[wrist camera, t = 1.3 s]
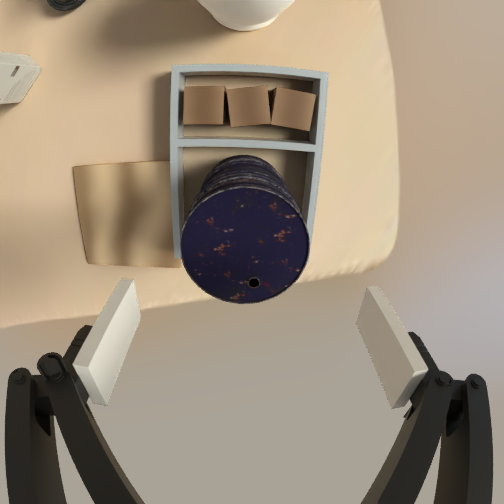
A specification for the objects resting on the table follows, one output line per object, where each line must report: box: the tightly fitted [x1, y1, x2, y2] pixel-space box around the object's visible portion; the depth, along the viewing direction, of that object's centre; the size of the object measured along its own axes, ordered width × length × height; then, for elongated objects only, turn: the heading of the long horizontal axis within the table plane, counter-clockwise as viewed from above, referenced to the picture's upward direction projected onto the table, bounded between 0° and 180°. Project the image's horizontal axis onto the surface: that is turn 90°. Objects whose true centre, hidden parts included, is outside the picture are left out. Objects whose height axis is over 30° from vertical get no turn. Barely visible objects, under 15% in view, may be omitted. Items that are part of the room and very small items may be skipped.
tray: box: [170, 64, 329, 262], centre depth 32 cm, size 16×22×3 cm
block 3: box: [270, 87, 316, 131], centre depth 29 cm, size 4×4×4 cm
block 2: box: [227, 86, 271, 127], centre depth 29 cm, size 4×4×4 cm
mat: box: [73, 161, 181, 268], centre depth 35 cm, size 14×14×1 cm
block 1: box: [183, 86, 226, 124], centre depth 29 cm, size 4×4×4 cm
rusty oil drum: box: [180, 155, 310, 304], centre depth 29 cm, size 10×10×15 cm
